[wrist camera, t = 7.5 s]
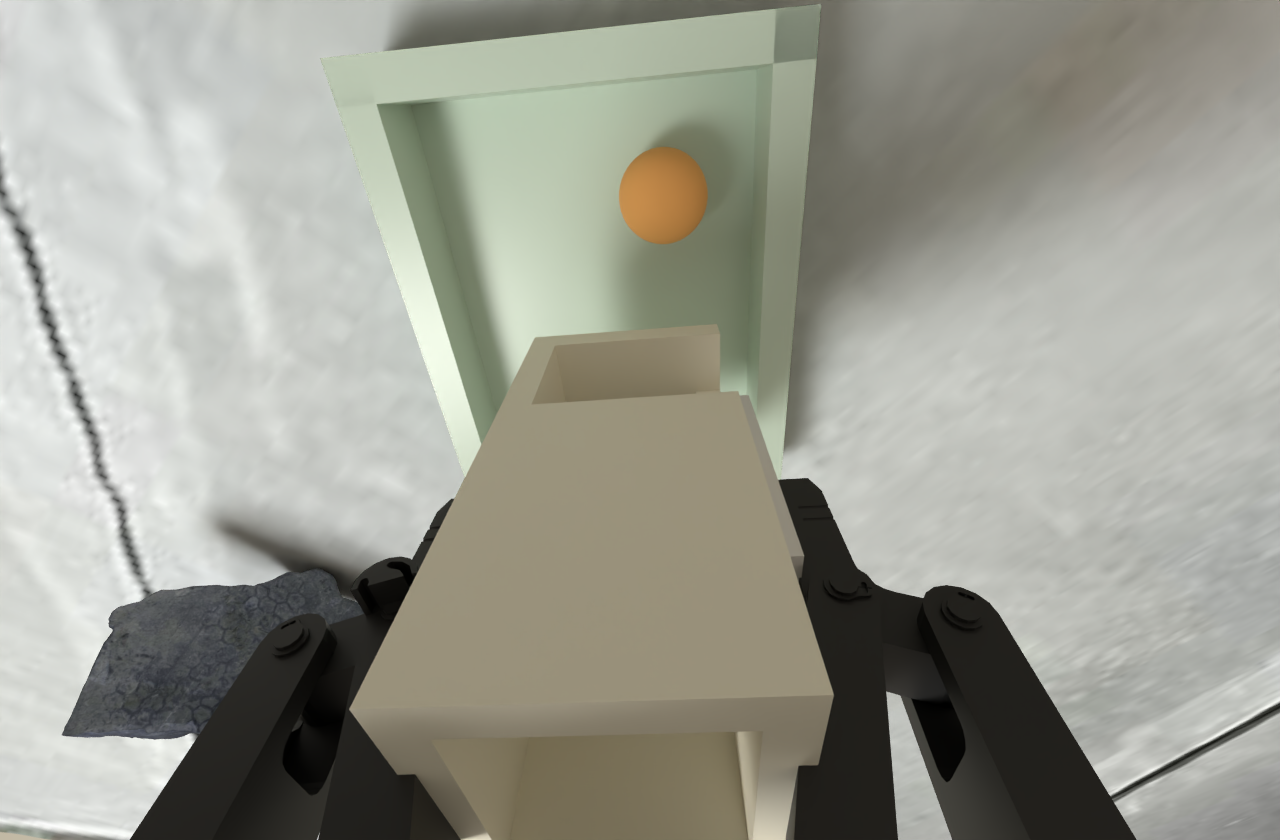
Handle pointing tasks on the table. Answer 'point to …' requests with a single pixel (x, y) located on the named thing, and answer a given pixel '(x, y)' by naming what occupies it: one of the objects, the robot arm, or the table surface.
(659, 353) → the hollow box
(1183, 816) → the table surface
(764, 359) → the tray
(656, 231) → the ball
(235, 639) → the stone
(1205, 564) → the table surface
